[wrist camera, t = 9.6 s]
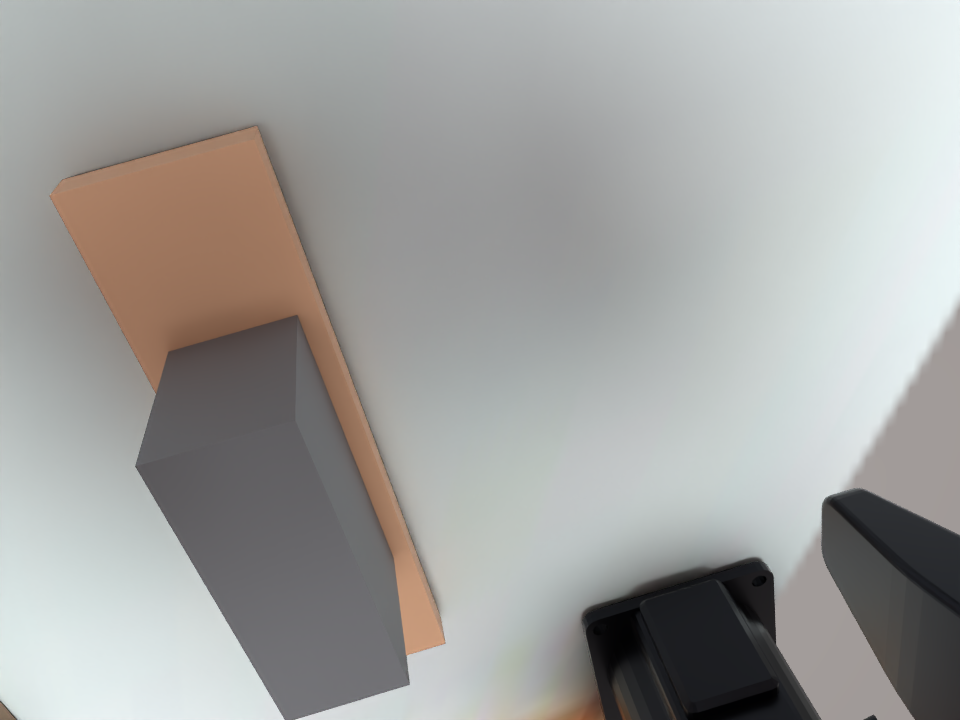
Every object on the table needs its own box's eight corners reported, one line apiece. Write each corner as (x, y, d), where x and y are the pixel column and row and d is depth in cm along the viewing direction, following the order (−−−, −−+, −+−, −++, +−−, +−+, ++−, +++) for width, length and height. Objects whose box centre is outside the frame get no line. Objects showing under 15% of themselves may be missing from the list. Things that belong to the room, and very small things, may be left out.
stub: (440, 618, 26) (468, 771, 21) (312, 657, 26) (312, 819, 21) (256, 125, 17) (240, 213, 13) (62, 179, 17) (-23, 286, 13)
